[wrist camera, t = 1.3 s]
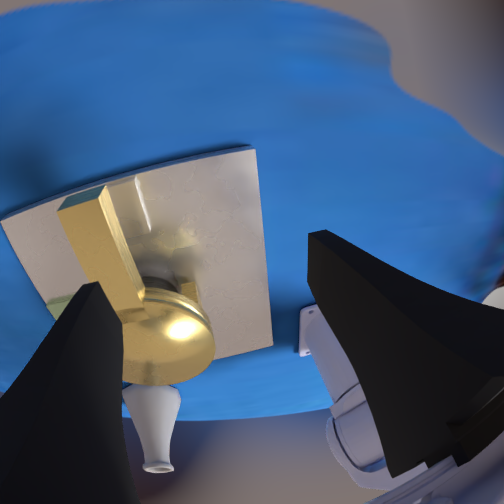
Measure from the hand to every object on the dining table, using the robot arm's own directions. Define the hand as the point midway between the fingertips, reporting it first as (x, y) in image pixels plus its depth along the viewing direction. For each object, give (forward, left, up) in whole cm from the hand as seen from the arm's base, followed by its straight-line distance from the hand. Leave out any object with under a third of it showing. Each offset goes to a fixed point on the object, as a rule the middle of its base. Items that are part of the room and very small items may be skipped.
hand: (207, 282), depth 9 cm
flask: (+11, +25, -11) cm, 29 cm away
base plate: (+5, +9, -10) cm, 14 cm away
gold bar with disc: (+5, +5, -9) cm, 12 cm away
